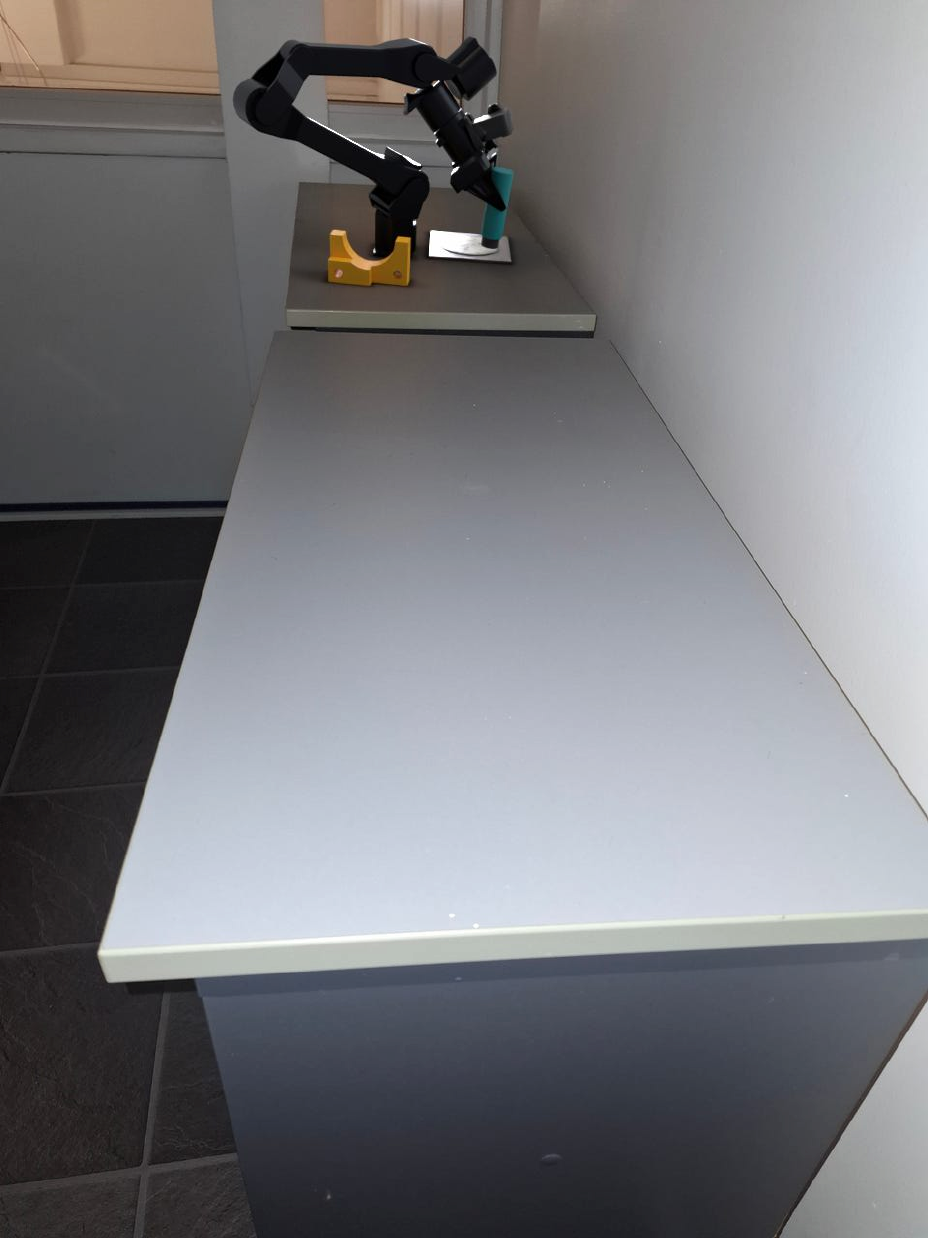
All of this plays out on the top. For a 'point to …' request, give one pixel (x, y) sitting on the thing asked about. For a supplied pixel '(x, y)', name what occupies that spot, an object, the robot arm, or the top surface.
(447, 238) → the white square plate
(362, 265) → the pipe clamp
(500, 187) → the dot marker
